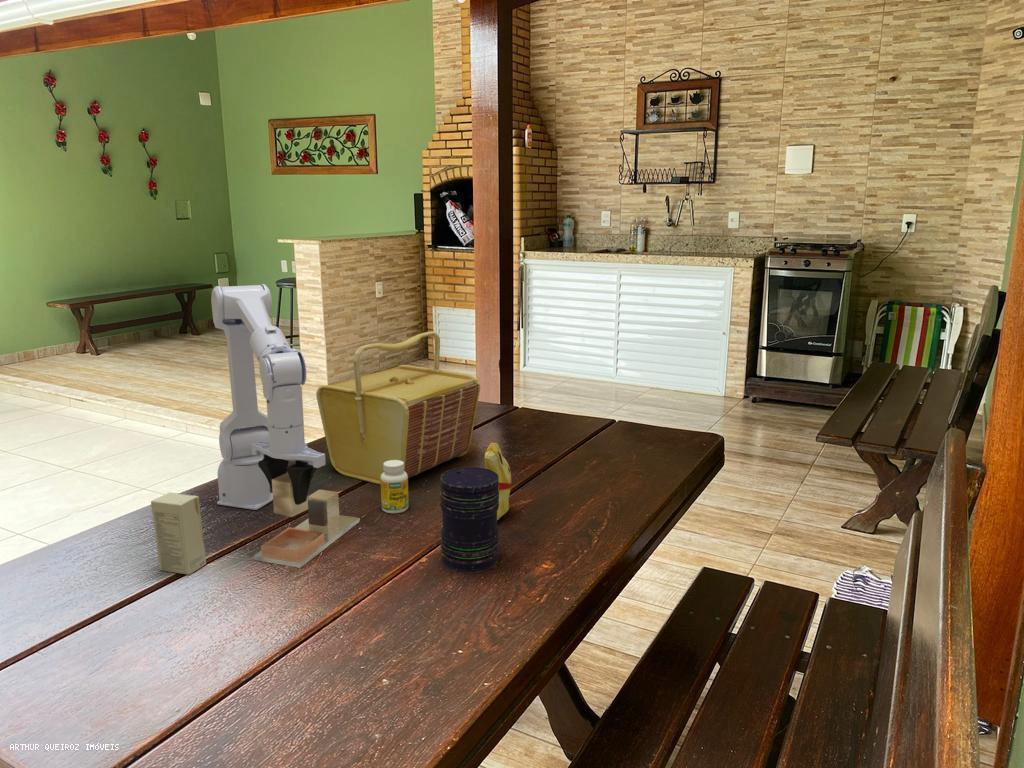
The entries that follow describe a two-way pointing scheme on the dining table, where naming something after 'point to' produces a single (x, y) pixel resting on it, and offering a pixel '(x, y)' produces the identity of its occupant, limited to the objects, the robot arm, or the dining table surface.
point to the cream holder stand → (308, 532)
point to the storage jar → (469, 519)
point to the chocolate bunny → (502, 468)
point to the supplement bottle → (394, 487)
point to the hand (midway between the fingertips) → (290, 500)
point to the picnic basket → (398, 416)
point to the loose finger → (285, 497)
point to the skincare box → (178, 533)
